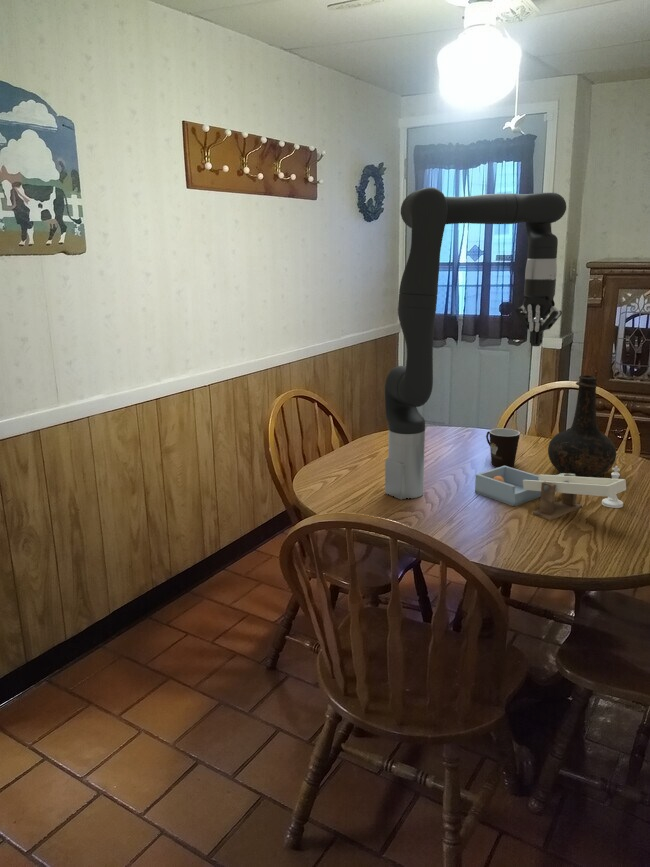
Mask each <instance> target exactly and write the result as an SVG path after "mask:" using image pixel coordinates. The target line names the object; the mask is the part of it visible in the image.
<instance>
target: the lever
mask: <svg viewBox="0 0 650 867" xmlns="http://www.w3.org/2000/svg"><path fill="white" fill-rule="evenodd" d="M564 474H567V473H559V474H555V475H554V474H537V475H538V479H539V481H537V480H523V488H524V490H532V491H541V486H542V482H548V483H551V484H555V485H556V488H555V493H556V494H558V493H559V494H563V493H569V494H576V495H582V496H583V495H584V496H594V497H595V496H597V497H606V498H608V497H610V496H613V495H615V494H620V493H622V492H624V491H626V490H627V482H626V479H625V478H618V479H612V477H611V478H610V477H609V478H608V477H596V478H593V477H576V476H575V474H570V475H574V476H564Z"/></svg>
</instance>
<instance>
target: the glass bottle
mask: <svg viewBox="0 0 650 867" xmlns="http://www.w3.org/2000/svg"><path fill="white" fill-rule="evenodd" d="M578 378H579V381H577V382H575V384H576V385H577V386H578V391H577V392H578V393H577V399H576V405H575V411H574V417H573V420H572V423H571V427H570V428H567V429H566V430H563V431H561V432H558V433H556V435H554V436H553V437H552V438H551V439H550V442H549V444H548V448H547V453H548V457H549V461H550V463H551V465H552V466H553V467H554V469H555V470H556V471H557V472H558V473H559V474H561V473H567V474H575V476H577V477H593V478H600V477H601V476H603V475H605V474H607V472H609V471H610V470H611V469H612V468H613V466H614V464H615V462H616V458H617V449H616V448H617V447H616V445H615V444H614V442H613V441H612V439H611V438H609V437H608V436H607V435H606V434H604V433H602V432H601V430H600V429H599V425H598V421H597V419H598V418H597V411H596V408H597V403H596V402H597V396H596V393H597V387H599V385H598V383H597V380H598V378H597V376H594V375H589V374H587V375H586V374H585V375H580V376H579V377H578Z"/></svg>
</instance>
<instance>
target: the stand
mask: <svg viewBox="0 0 650 867" xmlns="http://www.w3.org/2000/svg"><path fill="white" fill-rule="evenodd" d="M564 476H574V475H570V474H564ZM576 477H577V476H576ZM555 488H556V485H555V484H551V483H548V482H542V486H541V497H540V500H539V501H540V502H539V508H538V509H536V510H534V511H532V515H534V516H537V517H540V518H543V519H545V520H548V521H553V520H555V519H558V518H560V517H562V516H565V515H567V514H569V513H572V512H575V511H577V510H579V509H581V508H583V504H581V503H577V502H576V501H577V494H569V493H561V494H562V495H561V496H562V497H561V500H560V501H557V502H555V499H556V492H555Z"/></svg>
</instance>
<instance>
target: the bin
mask: <svg viewBox="0 0 650 867" xmlns="http://www.w3.org/2000/svg"><path fill="white" fill-rule="evenodd" d="M538 475H539V474H535V473H531V472H528V471H523V470H521V469H517V468H514V467H512V468H511V467H508V466H501V467H498V468H497V467H494V468H492V469H489V470H485V471H482V472H479V473H476V474H475V484H474V493H475V494H478V495H481V496H484V497H485V498H489V499H491V500H492V499H493V500H494V501H498V502H501V503H504V504H507V505H509V506H512V507H517V506H520V505H523V504H525V503H527V502H531V501H533V500H535V499H538V498H541V491H532V490H524V488H523V480H537V481H539V479H538ZM495 476H501V477H502V478H503V479H504V482H501V481H498V480H495V479H493V478H494V477H495Z"/></svg>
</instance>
